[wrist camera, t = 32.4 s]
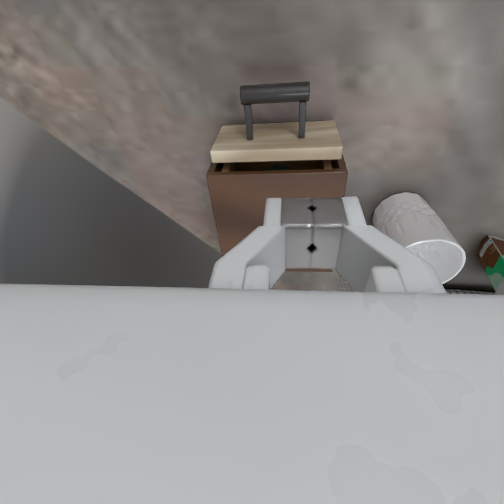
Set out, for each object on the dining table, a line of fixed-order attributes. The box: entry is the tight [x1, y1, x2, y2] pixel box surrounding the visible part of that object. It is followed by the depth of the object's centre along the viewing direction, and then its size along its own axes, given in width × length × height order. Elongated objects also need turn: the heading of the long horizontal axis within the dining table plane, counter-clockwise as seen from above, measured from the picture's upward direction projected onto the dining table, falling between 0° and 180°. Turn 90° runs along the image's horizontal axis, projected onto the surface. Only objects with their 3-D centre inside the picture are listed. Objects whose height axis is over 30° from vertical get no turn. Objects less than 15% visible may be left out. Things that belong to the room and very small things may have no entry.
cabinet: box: [206, 154, 348, 272], centre depth 35 cm, size 13×13×8 cm
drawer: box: [210, 82, 343, 172], centre depth 32 cm, size 17×12×7 cm
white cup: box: [372, 192, 466, 284], centre depth 35 cm, size 8×8×10 cm
